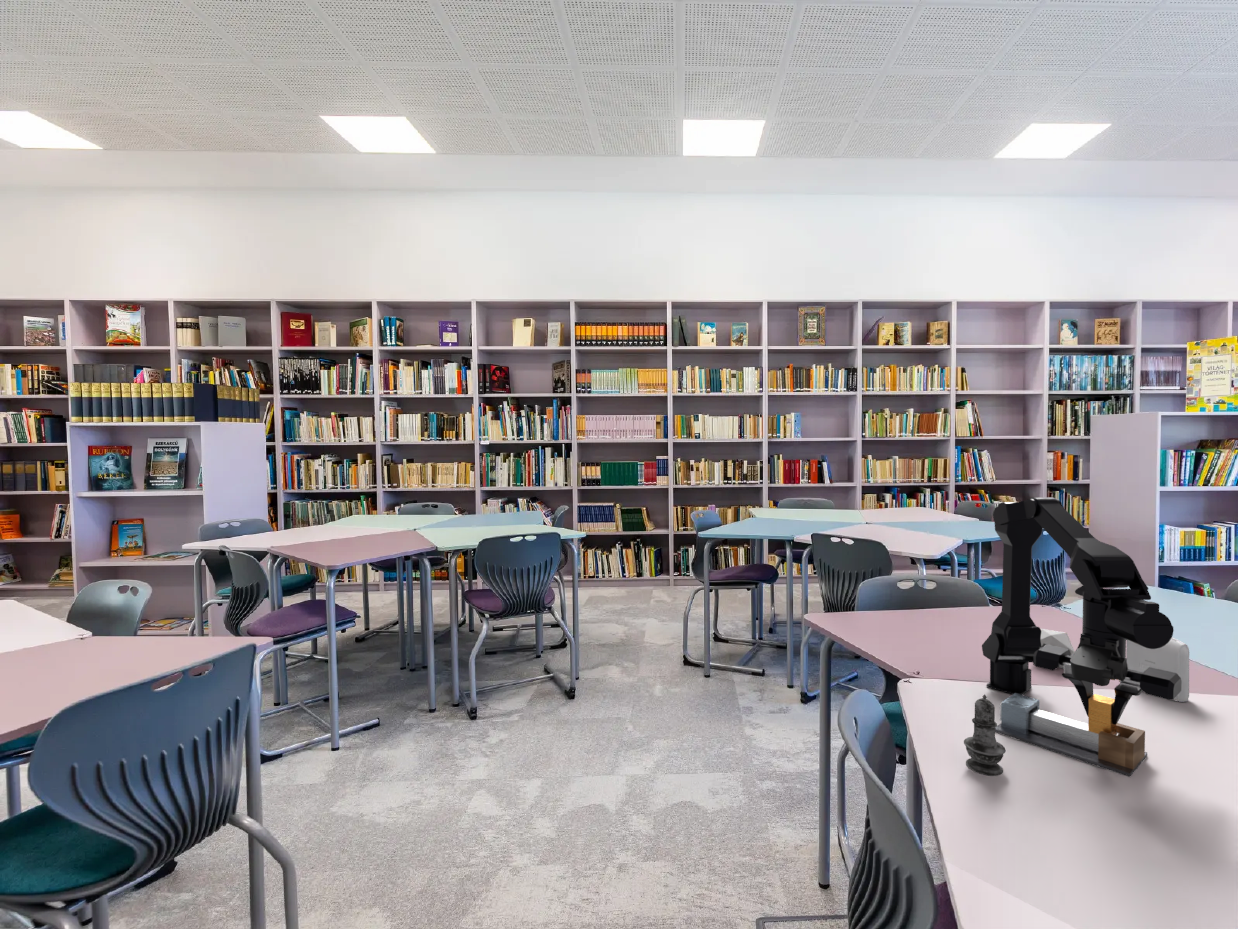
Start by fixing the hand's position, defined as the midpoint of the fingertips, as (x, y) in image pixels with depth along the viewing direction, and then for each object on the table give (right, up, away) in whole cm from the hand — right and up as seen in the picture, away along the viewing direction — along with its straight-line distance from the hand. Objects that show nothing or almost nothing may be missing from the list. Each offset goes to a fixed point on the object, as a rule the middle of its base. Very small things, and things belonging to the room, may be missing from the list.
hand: (1102, 720), depth 103 cm
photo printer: (+30, -4, +24) cm, 38 cm away
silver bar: (-4, -5, +5) cm, 8 cm away
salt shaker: (-21, -7, -3) cm, 23 cm away
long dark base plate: (-3, -6, +4) cm, 8 cm away
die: (+20, -4, +40) cm, 45 cm away
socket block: (+2, -6, -2) cm, 6 cm away
